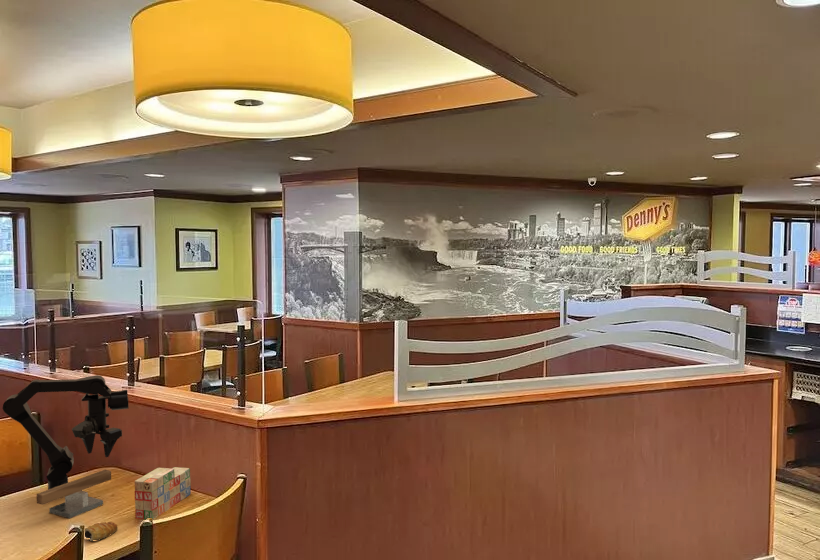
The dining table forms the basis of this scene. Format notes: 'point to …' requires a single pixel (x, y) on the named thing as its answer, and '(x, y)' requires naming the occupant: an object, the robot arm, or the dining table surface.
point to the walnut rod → (73, 487)
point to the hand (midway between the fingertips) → (98, 455)
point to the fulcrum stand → (75, 505)
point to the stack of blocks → (160, 491)
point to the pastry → (100, 530)
